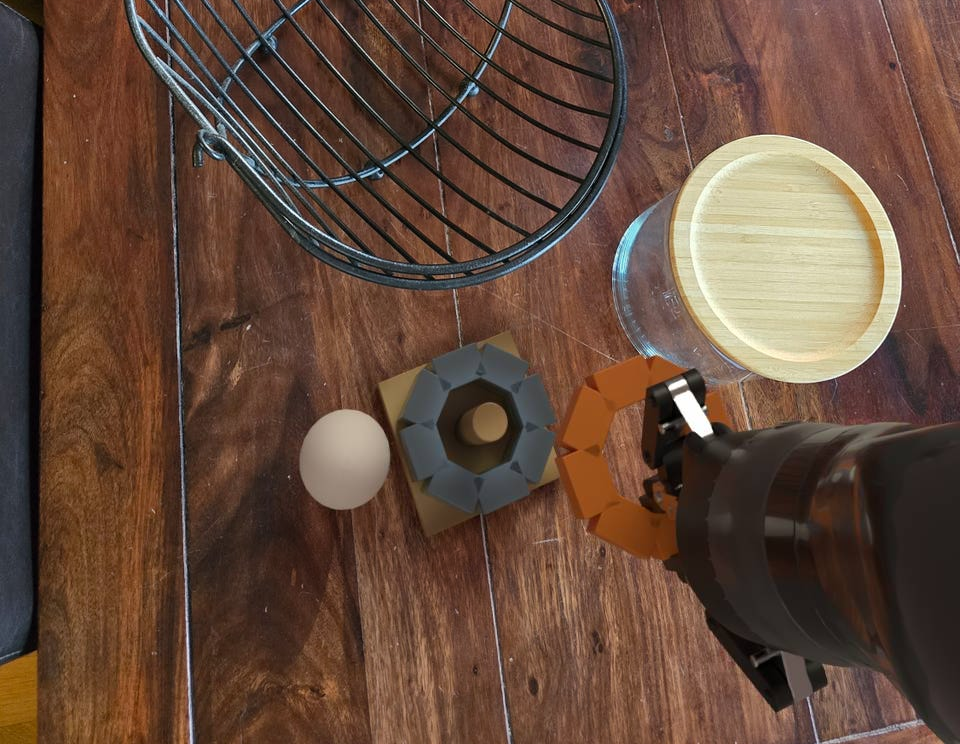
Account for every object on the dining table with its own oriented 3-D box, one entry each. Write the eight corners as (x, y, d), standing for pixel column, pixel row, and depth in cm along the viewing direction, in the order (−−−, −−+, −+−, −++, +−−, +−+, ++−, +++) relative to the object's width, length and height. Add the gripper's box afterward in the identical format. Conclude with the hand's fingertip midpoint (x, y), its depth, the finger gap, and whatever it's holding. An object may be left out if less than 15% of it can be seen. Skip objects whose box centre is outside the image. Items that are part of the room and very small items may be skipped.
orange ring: (753, 510, 58) (768, 511, 56) (598, 584, 56) (608, 587, 54) (681, 337, 61) (692, 332, 60) (532, 398, 59) (539, 396, 57)
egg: (402, 449, 71) (414, 444, 64) (349, 529, 68) (356, 532, 62) (335, 394, 72) (340, 384, 65) (280, 471, 69) (280, 468, 63)
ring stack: (560, 475, 71) (594, 473, 63) (425, 537, 69) (443, 542, 61) (506, 332, 75) (532, 312, 67) (376, 384, 72) (387, 371, 64)
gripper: (642, 383, 44) (549, 411, 59) (809, 804, 38) (659, 715, 53) (807, 313, 46) (677, 357, 61) (987, 702, 40) (795, 644, 56)
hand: (669, 525), depth 57 cm, fingers closed on orange ring, 2 cm apart
